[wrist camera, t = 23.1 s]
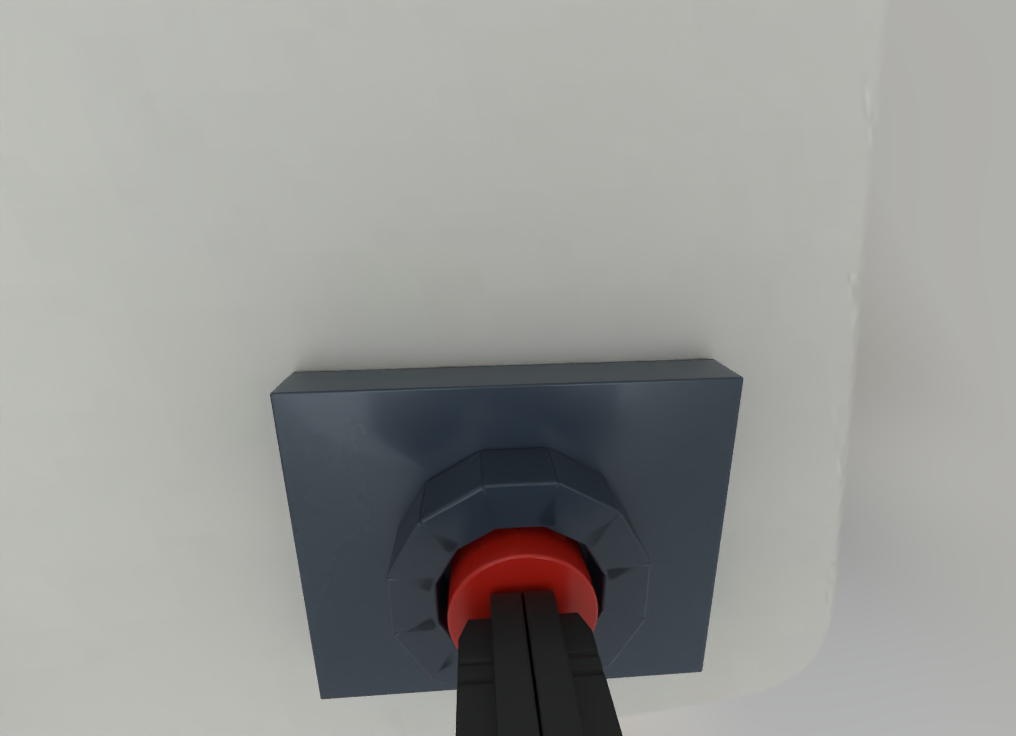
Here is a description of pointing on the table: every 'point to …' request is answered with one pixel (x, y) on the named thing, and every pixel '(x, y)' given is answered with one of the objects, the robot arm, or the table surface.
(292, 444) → the button box
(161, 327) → the table surface
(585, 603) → the button
